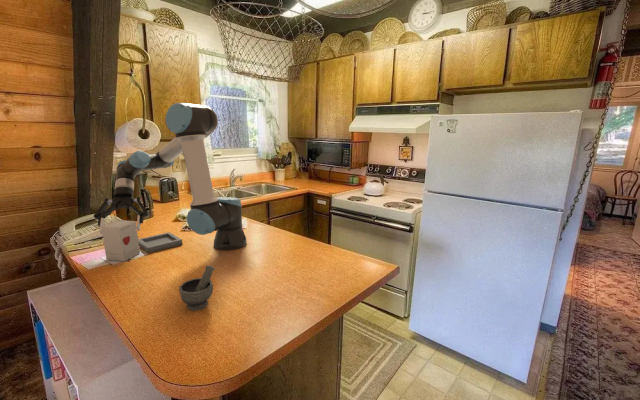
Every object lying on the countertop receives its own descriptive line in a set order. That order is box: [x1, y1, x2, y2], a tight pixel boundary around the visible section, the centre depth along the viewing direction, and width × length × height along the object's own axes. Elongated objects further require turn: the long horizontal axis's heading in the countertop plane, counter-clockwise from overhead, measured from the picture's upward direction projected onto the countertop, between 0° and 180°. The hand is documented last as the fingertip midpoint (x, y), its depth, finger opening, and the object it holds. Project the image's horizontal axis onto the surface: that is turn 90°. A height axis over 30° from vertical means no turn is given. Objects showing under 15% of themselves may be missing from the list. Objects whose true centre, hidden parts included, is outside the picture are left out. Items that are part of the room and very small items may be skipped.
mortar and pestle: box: [178, 264, 216, 312], centre depth 94 cm, size 11×9×12 cm
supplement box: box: [101, 219, 141, 262], centre depth 127 cm, size 9×9×15 cm
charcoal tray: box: [138, 231, 183, 254], centre depth 143 cm, size 15×15×2 cm
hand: (120, 231), depth 129 cm, fingers open, 13 cm apart
